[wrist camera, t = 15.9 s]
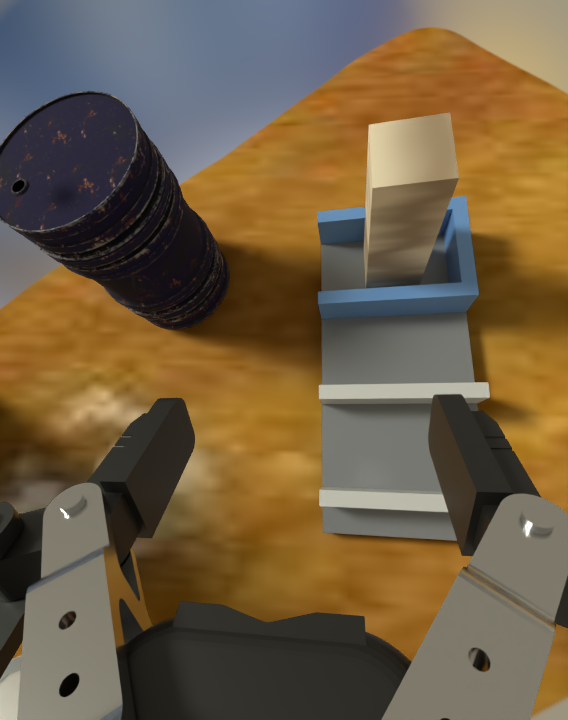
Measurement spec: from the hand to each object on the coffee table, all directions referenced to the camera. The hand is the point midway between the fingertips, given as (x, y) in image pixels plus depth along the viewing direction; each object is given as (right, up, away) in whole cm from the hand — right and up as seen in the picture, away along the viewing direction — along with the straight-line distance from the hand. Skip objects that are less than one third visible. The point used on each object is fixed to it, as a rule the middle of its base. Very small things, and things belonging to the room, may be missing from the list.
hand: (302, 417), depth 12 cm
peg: (+8, +9, +18) cm, 21 cm away
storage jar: (-10, +9, +23) cm, 27 cm away
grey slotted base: (+8, +2, +17) cm, 19 cm away
